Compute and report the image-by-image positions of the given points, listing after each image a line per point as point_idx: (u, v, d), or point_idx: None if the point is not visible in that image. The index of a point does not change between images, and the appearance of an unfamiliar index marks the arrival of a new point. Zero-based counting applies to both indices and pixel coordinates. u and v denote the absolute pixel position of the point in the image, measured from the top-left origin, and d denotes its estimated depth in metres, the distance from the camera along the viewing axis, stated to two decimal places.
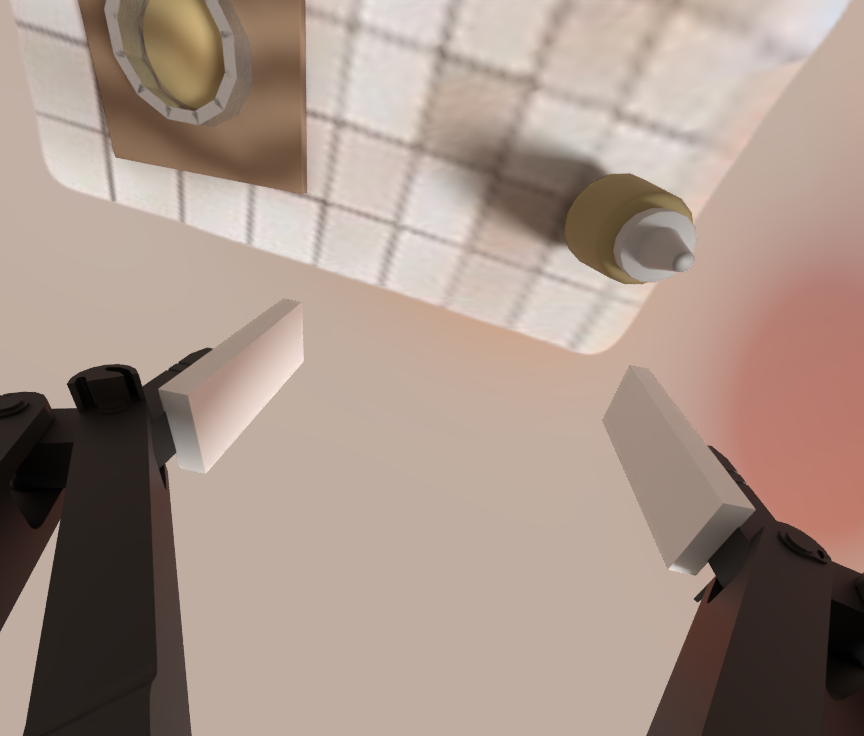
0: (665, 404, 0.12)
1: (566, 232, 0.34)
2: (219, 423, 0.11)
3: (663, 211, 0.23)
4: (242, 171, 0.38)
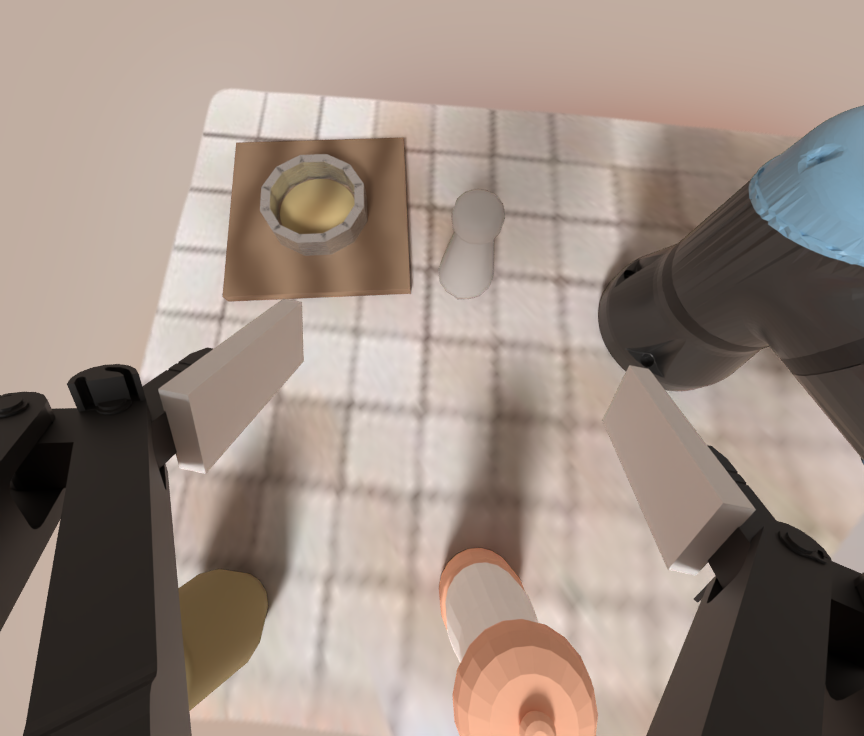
0: (665, 404, 0.12)
1: (196, 576, 0.30)
2: (219, 423, 0.11)
3: None
4: (236, 244, 0.41)
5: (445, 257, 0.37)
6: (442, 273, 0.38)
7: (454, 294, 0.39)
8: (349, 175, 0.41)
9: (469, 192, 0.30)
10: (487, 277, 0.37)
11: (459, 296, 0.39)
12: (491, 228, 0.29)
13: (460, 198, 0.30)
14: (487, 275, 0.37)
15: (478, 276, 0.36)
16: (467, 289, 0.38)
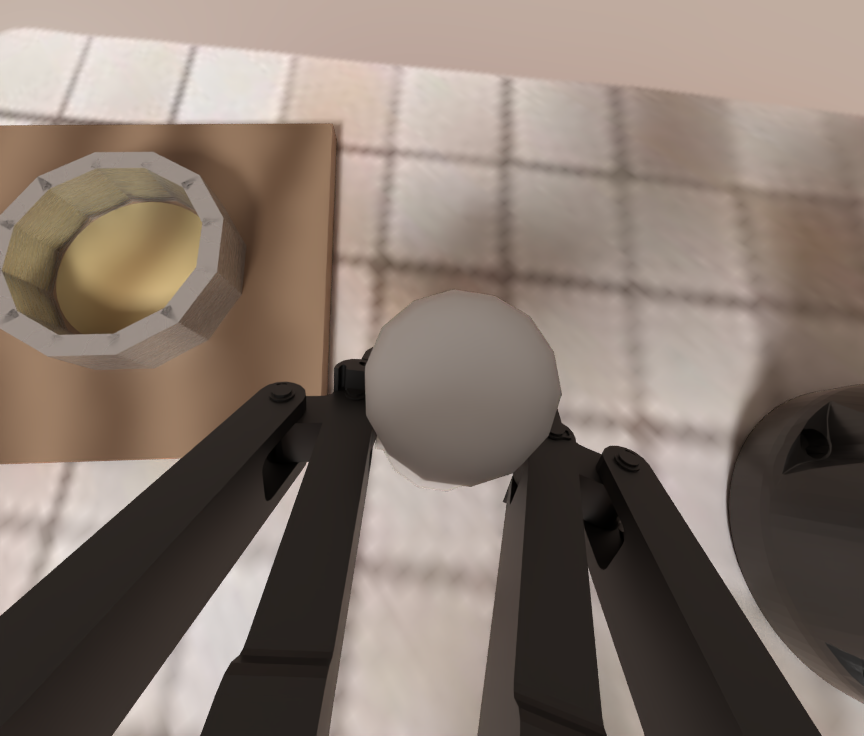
0: None
1: None
2: None
3: None
4: None
5: None
6: None
7: (412, 482, 0.17)
8: (194, 199, 0.19)
9: (426, 308, 0.08)
10: None
11: (424, 487, 0.17)
12: (509, 466, 0.07)
13: (391, 332, 0.08)
14: None
15: None
16: (439, 486, 0.15)
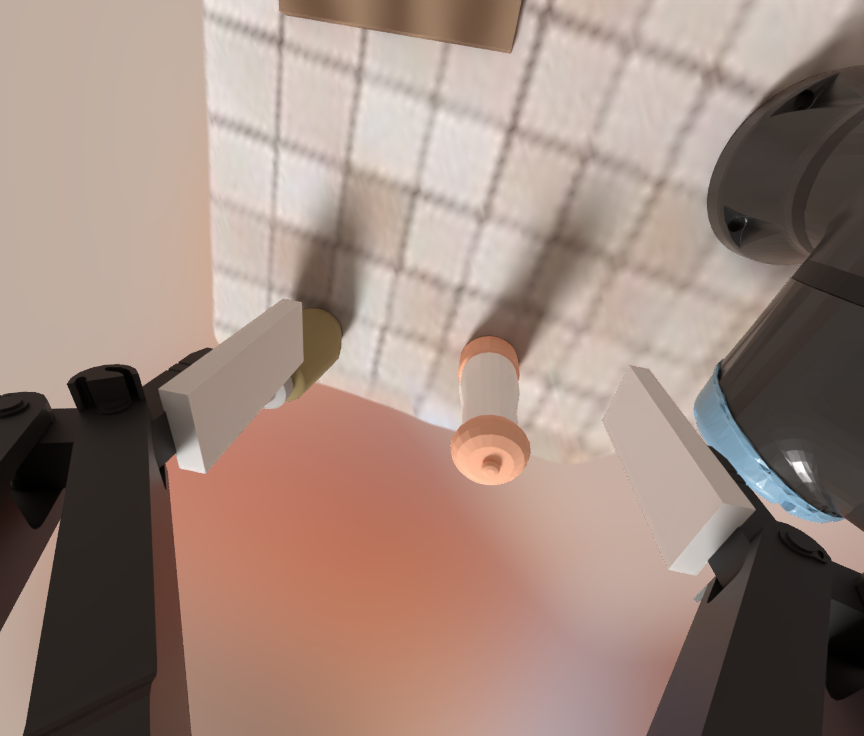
0: (665, 404, 0.12)
1: None
2: (219, 423, 0.11)
3: (285, 388, 0.35)
4: None
5: None
6: None
7: None
8: None
9: None
10: None
11: None
12: None
13: None
14: None
15: None
16: None
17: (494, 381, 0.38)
